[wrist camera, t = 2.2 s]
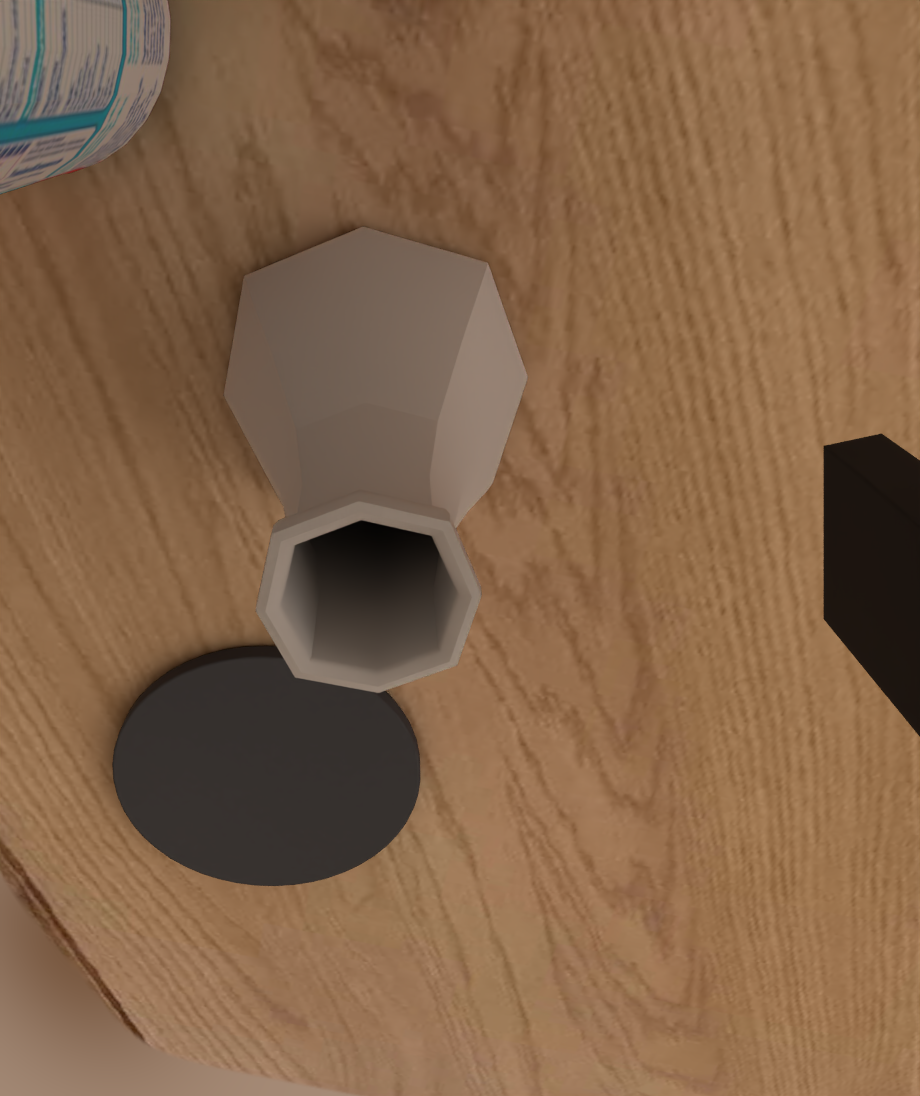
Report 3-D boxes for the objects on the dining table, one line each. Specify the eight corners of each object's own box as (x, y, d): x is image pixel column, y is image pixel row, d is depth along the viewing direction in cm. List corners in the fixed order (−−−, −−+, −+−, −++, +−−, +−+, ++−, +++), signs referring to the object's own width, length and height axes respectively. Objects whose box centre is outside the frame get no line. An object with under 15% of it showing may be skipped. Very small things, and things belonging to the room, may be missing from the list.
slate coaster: (67, 681, 25) (60, 694, 24) (380, 615, 24) (380, 628, 24) (179, 894, 29) (176, 910, 28) (446, 841, 29) (447, 856, 28)
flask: (526, 508, 23) (611, 776, 14) (248, 526, 23) (161, 812, 14) (526, 216, 20) (637, 335, 11) (198, 232, 19) (39, 369, 10)
